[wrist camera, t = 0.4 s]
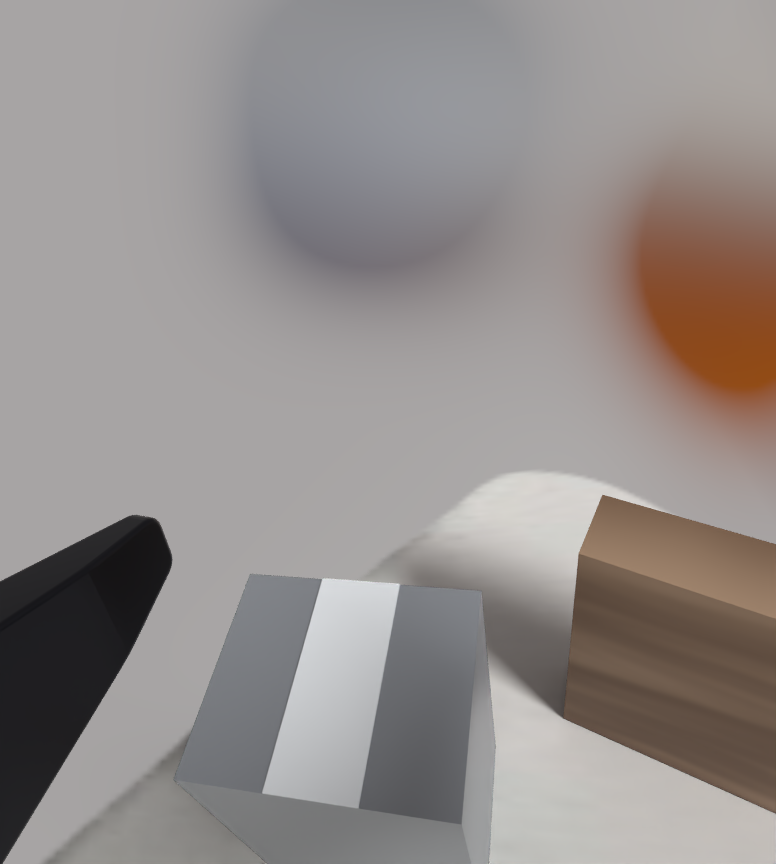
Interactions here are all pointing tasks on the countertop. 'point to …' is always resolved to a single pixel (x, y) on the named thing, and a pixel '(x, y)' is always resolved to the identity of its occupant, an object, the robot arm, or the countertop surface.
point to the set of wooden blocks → (678, 646)
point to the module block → (349, 725)
